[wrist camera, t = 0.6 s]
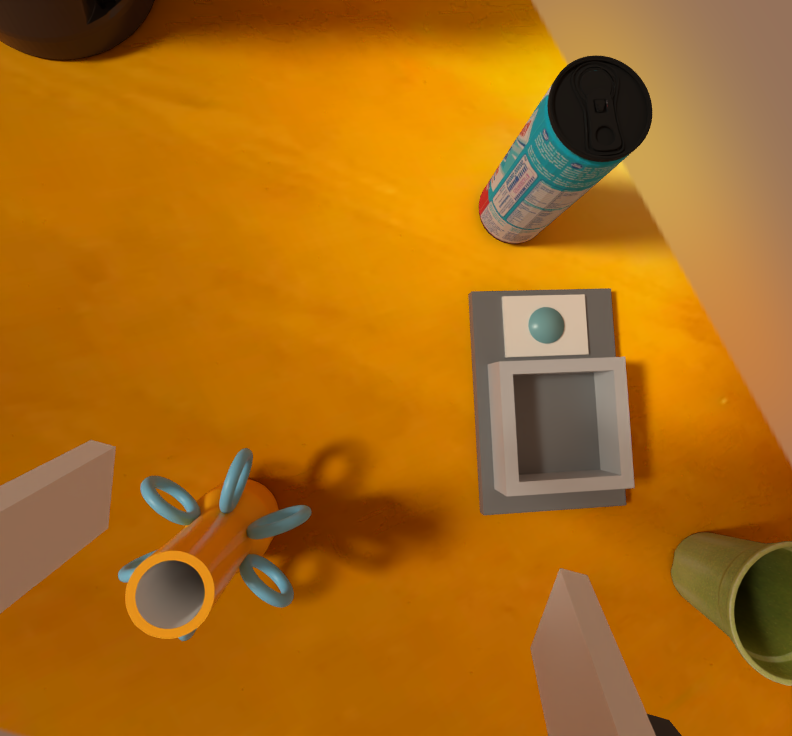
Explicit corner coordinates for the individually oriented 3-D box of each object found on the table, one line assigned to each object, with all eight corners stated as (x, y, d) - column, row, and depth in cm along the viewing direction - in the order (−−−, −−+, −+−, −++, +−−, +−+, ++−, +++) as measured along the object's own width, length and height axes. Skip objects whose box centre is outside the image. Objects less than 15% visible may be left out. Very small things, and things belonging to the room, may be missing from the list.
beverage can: (544, 182, 42) (654, 62, 27) (541, 249, 41) (651, 165, 26) (477, 175, 41) (551, 47, 26) (474, 243, 41) (547, 152, 26)
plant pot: (690, 648, 40) (783, 716, 32) (629, 554, 40) (705, 596, 32) (772, 582, 41) (884, 630, 33) (713, 490, 41) (809, 514, 33)
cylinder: (298, 427, 38) (267, 446, 23) (335, 554, 38) (328, 655, 23) (143, 475, 37) (4, 527, 22) (180, 607, 36) (65, 752, 22)
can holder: (468, 294, 40) (481, 282, 36) (604, 291, 42) (631, 279, 38) (480, 512, 39) (495, 525, 35) (619, 502, 40) (649, 513, 36)
